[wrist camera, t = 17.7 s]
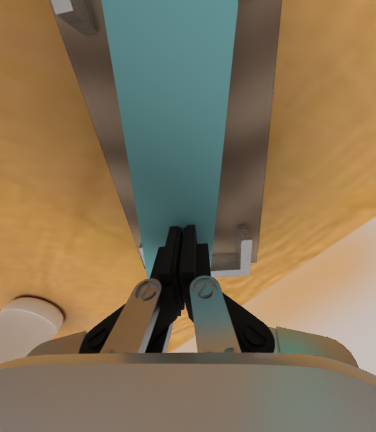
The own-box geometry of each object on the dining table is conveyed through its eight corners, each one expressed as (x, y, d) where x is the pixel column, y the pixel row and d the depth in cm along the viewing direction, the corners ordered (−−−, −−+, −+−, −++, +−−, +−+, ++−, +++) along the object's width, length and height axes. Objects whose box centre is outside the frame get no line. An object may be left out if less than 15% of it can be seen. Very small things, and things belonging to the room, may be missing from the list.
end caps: (44, -93, 9) (-8, -165, 6) (263, -161, 8) (290, -276, 5) (154, 264, 21) (150, 280, 19) (243, 258, 20) (249, 275, 18)
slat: (136, -40, 9) (60, -244, 4) (226, -43, 9) (265, -259, 4) (161, 242, 19) (148, 286, 14) (205, 243, 19) (208, 289, 14)
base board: (35, -78, 10) (10, -109, 8) (285, -155, 8) (301, -206, 7) (147, 260, 23) (144, 268, 22) (252, 253, 21) (256, 262, 20)
